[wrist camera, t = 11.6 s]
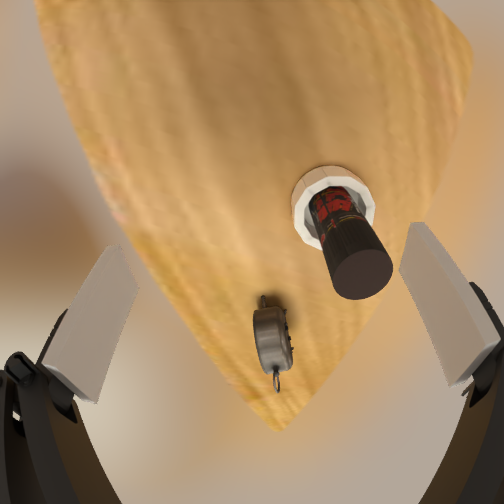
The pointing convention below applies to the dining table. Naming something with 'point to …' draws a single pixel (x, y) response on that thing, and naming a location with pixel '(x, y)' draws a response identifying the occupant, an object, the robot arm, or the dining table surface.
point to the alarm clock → (272, 340)
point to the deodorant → (349, 245)
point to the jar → (318, 182)
